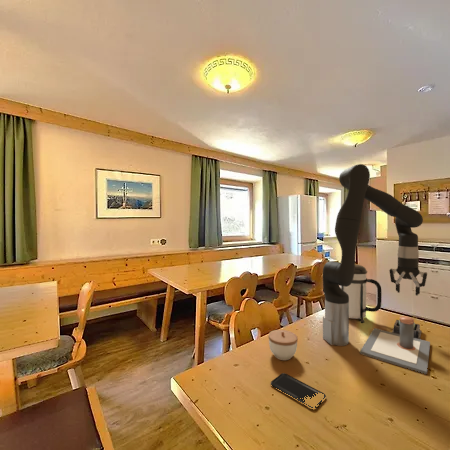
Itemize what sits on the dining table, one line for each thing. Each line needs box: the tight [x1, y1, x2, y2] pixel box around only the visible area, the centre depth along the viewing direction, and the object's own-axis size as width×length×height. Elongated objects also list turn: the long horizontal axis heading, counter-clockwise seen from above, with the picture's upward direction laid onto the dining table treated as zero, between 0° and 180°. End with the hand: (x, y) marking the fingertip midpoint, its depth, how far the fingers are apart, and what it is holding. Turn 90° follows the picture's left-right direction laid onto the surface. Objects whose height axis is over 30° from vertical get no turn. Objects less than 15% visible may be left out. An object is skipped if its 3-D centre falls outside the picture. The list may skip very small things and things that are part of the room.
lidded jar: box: [268, 329, 299, 361], centre depth 96 cm, size 11×11×9 cm
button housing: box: [391, 319, 422, 339], centre depth 114 cm, size 10×10×3 cm
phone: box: [270, 372, 327, 408], centre depth 77 cm, size 8×1×15 cm
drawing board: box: [359, 327, 431, 375], centre depth 100 cm, size 26×20×1 cm
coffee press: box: [339, 263, 383, 324], centre depth 130 cm, size 17×16×30 cm
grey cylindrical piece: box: [399, 315, 415, 349], centre depth 100 cm, size 5×5×11 cm
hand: (407, 293), depth 114 cm, fingers open, 6 cm apart
